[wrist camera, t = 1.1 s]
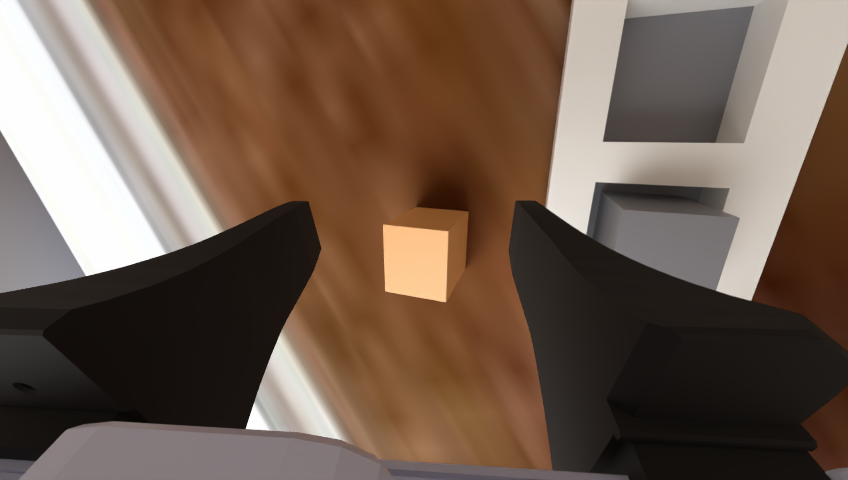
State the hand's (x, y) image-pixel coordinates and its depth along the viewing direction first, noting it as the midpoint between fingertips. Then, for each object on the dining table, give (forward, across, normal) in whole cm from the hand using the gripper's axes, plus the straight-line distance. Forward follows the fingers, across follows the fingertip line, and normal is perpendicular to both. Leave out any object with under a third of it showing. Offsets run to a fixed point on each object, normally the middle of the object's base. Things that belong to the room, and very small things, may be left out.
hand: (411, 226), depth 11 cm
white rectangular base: (+9, -12, +1) cm, 15 cm away
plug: (+10, -1, +7) cm, 13 cm away
